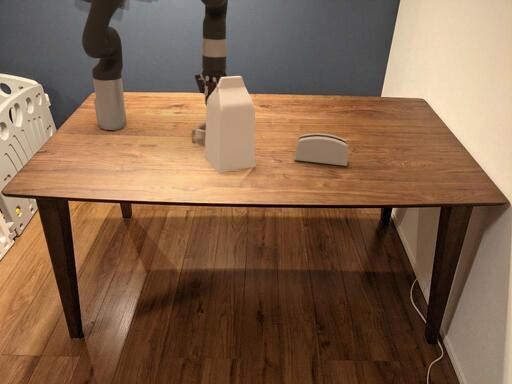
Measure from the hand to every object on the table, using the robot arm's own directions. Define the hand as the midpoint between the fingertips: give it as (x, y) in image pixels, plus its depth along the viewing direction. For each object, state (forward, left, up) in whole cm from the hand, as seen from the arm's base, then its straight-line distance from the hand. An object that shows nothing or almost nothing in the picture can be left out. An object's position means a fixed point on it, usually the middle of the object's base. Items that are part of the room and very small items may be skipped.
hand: (214, 107), depth 133 cm
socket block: (0, 0, -12) cm, 12 cm away
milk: (+13, -12, -12) cm, 21 cm away
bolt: (0, 0, -6) cm, 6 cm away
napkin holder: (+37, +4, -12) cm, 39 cm away
